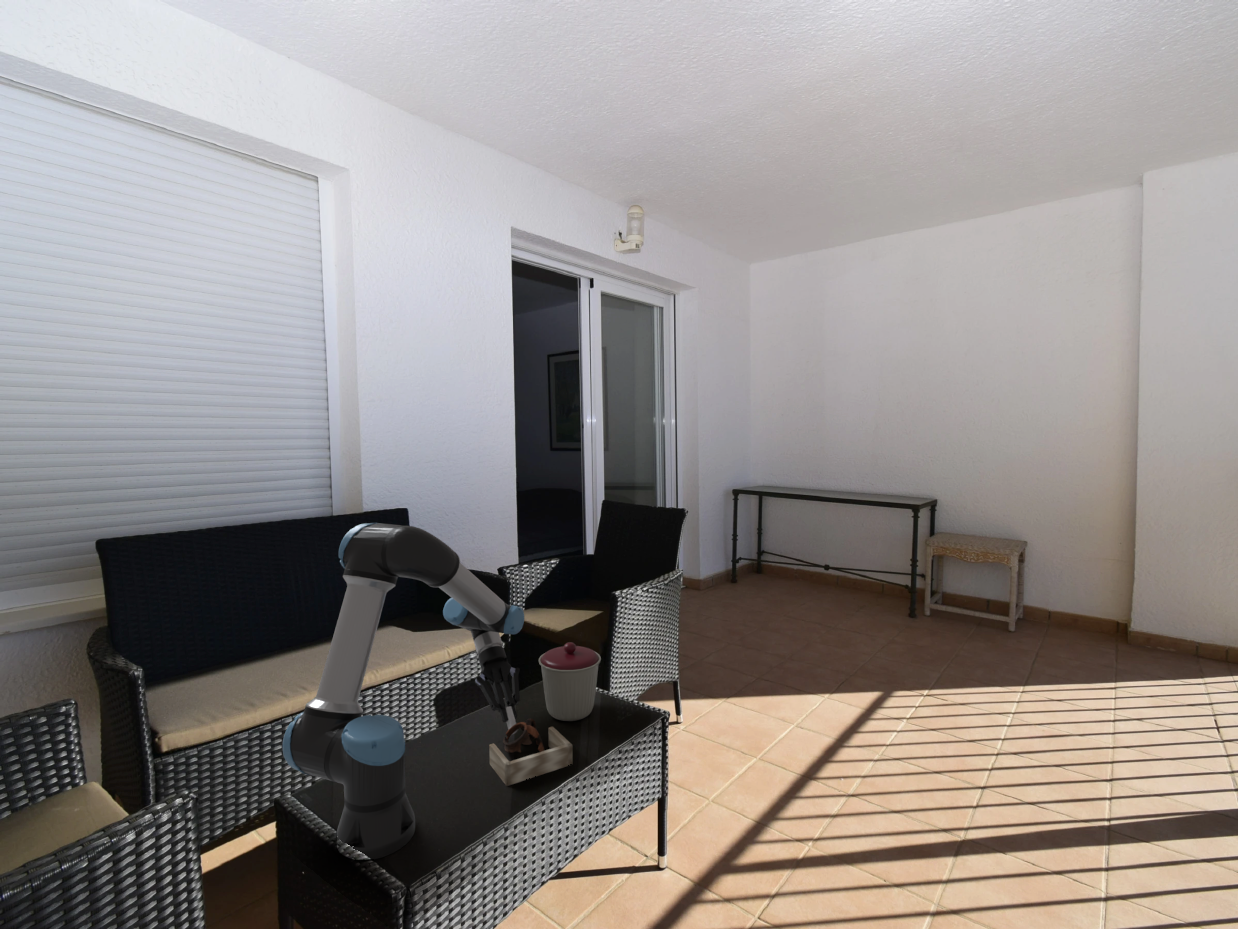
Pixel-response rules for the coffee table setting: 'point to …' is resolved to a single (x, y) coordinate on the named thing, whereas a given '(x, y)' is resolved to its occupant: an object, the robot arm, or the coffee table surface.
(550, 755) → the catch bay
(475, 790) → the coffee table surface
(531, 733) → the pottery mug
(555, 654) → the canister
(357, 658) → the robot arm
